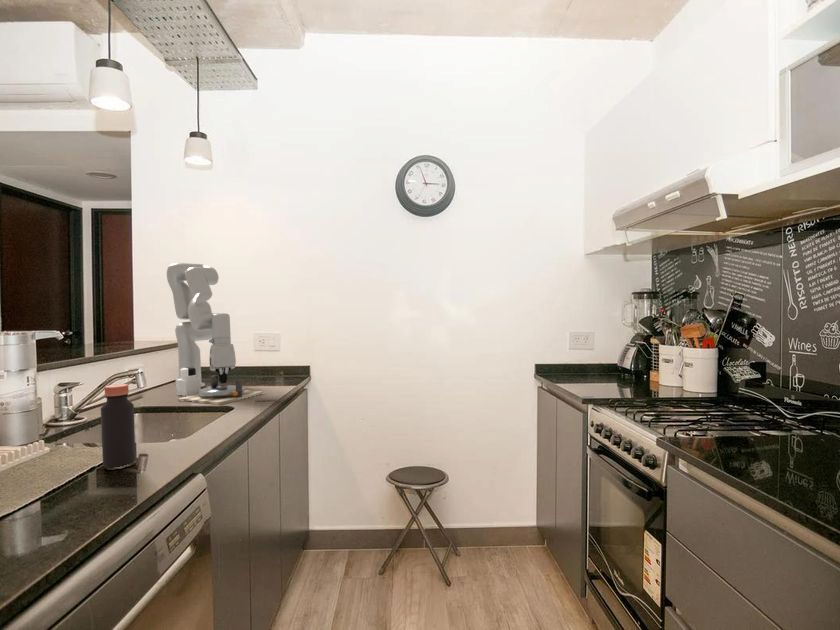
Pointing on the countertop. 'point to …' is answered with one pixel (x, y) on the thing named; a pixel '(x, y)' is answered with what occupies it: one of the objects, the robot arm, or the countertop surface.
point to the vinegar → (117, 427)
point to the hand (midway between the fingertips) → (223, 382)
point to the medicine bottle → (188, 382)
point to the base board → (223, 399)
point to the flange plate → (219, 389)
